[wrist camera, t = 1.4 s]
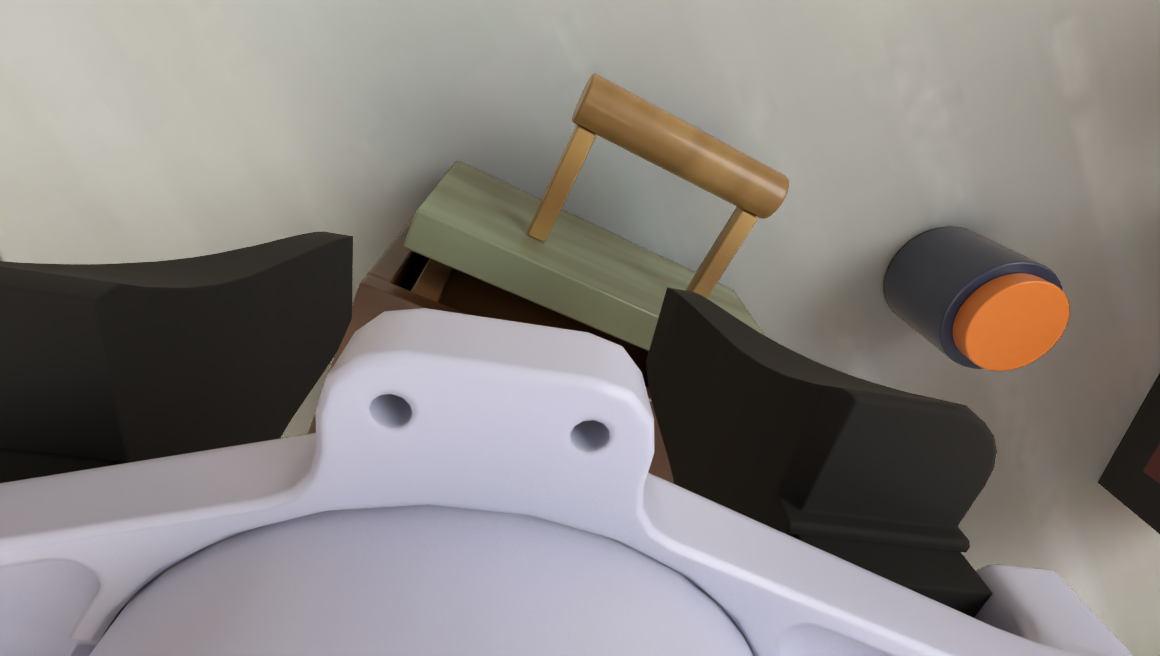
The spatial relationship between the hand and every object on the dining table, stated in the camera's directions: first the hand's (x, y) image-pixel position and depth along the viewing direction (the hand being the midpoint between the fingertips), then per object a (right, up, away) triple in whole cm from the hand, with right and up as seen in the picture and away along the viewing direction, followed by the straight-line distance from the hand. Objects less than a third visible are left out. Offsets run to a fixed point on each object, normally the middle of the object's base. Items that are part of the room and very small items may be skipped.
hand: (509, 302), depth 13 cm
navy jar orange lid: (+17, +2, +12) cm, 21 cm away
